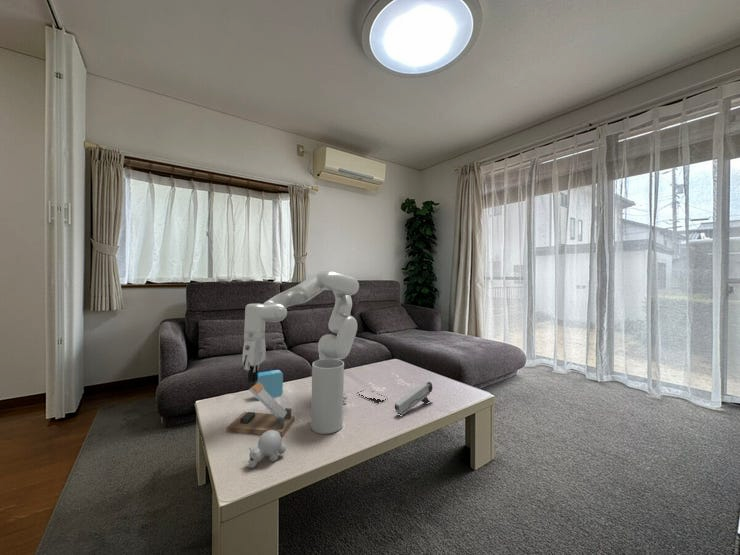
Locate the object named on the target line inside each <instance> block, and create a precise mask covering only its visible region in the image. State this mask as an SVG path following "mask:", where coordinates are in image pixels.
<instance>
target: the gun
mask: <svg viewBox="0 0 740 555" xmlns="http://www.w3.org/2000/svg"><path fill="white" fill-rule="evenodd" d="M432 391H433V384H432V382H431V381H428V382H423V383H421V384H420V385H419V386H417V387H416V388H415V389H413V390H412V391H410V392H409V393H408V394H407V395H405V396H404V397H402V398H401V399H400V400H398V401H397V402H395V403H394V410H395V412H396V413H397V415H398V414H400V415H402V416H404V415H405V414H406V413H407V412H409V411H410V410H411V409H413V408H414V407H415V406H416V405H417V404H419V403H420V402H422V403H423V402H424V403H428V402H430V403H431V401H430V400H429V398H428V396H429V395H430V393H431V392H432ZM424 403H423V404H424ZM403 414H404V415H403Z"/></svg>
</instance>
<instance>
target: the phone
mask: <svg viewBox="0 0 740 555" xmlns="http://www.w3.org/2000/svg"><path fill="white" fill-rule="evenodd" d="M364 390H365V389H363V390H361V391H359V392H362V391H364ZM371 391H372V390H371ZM359 392H357V393H356V394H358V393H359ZM372 392H374V391H372ZM378 394H379V393H378ZM359 395H360V394H359ZM379 395H381V394H379ZM361 396H363V395H361ZM381 396H383V395H381ZM363 397H364V396H363ZM363 397H362V398H363ZM385 397H386V396H385ZM365 398H367V397H365ZM365 398H364V399H365ZM386 398H387V399H388V397H386ZM367 399H369V400H371V401H374V402H375V403H379V402H382V403H383V401H384V400H382V401H381V400H380V399H377V400H376V399H375V398H373V399H372V398H367ZM367 399H366V400H367ZM369 400H368V401H369ZM385 400H386V399H385ZM371 401H370V402H371ZM384 402H385V401H384ZM375 403H374V404H375Z"/></svg>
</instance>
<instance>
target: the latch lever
mask: <svg viewBox="0 0 740 555" xmlns="http://www.w3.org/2000/svg"><path fill="white" fill-rule="evenodd" d="M263 388H264V386H263V385H262V384H261V383H260V382H258V383H257V384H256V383H255V384H254V385H252V387H250V388H249V390H248V391H249V392H251V394H253V396H255V398H256V397H257V398H258V399H259V400H258V399H257V398H256V399H257V400H258V401H259V402H260V403H261V404H263V405H264V406H265V407H266V408H267V409H268V410H269V411H270V412H271V414H274V415H275V416H276V417H284V416H285V415H286V414H287V413H288V412H287V411H286V410H285V408H284V407H283V406H282V405H281V404H280V403H279V402H278V401H277V400H276V398H275V397H274V398H275V399H274V398H273V397H272V396H271V395H269V394H268V393H267V392H266V391H265V390H264V389H263Z"/></svg>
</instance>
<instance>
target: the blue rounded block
mask: <svg viewBox="0 0 740 555" xmlns="http://www.w3.org/2000/svg"><path fill="white" fill-rule="evenodd" d="M258 382H260V383H261V384H262V385H263V386H264V388H263V389H264V390H265V391H266V392H267V393H268V394H269V395H271V396H272V397H273V398H279V397H281V396H282V395H283V392H284V390H283V389H284V388H283V387H284V386H283V385H284V384H283V383H284V374H283V372H282V371H281V370H280V369H275V370H268V371H261V372H258V381H256V382H255V384H257V383H258ZM255 398H256V400H258V401H260V400H259V399H258V398H257V397H256V396H255Z"/></svg>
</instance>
